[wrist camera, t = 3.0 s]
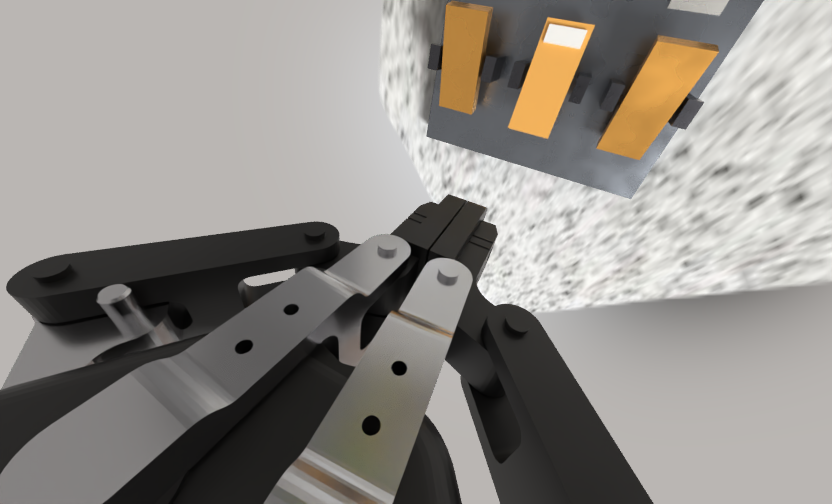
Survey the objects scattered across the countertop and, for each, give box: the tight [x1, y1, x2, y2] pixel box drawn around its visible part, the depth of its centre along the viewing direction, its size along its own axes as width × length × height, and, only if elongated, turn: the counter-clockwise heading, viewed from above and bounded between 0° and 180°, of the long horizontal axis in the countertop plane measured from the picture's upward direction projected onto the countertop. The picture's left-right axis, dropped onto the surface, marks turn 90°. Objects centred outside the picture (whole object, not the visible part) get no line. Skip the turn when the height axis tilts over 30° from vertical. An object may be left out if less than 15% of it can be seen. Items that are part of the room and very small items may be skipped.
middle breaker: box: [508, 17, 595, 139], centre depth 21 cm, size 3×7×1 cm, turn 171°
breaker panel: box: [426, 0, 764, 199], centre depth 23 cm, size 19×14×6 cm
